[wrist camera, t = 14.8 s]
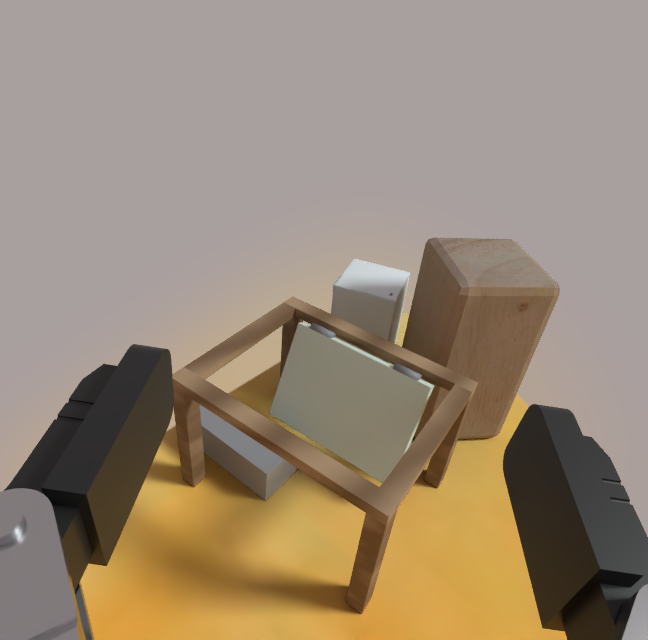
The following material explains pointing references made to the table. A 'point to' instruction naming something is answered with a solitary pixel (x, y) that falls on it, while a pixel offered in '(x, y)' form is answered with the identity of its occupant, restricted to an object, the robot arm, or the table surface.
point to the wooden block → (479, 322)
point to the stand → (354, 488)
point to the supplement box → (371, 299)
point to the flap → (350, 400)
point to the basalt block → (243, 456)
